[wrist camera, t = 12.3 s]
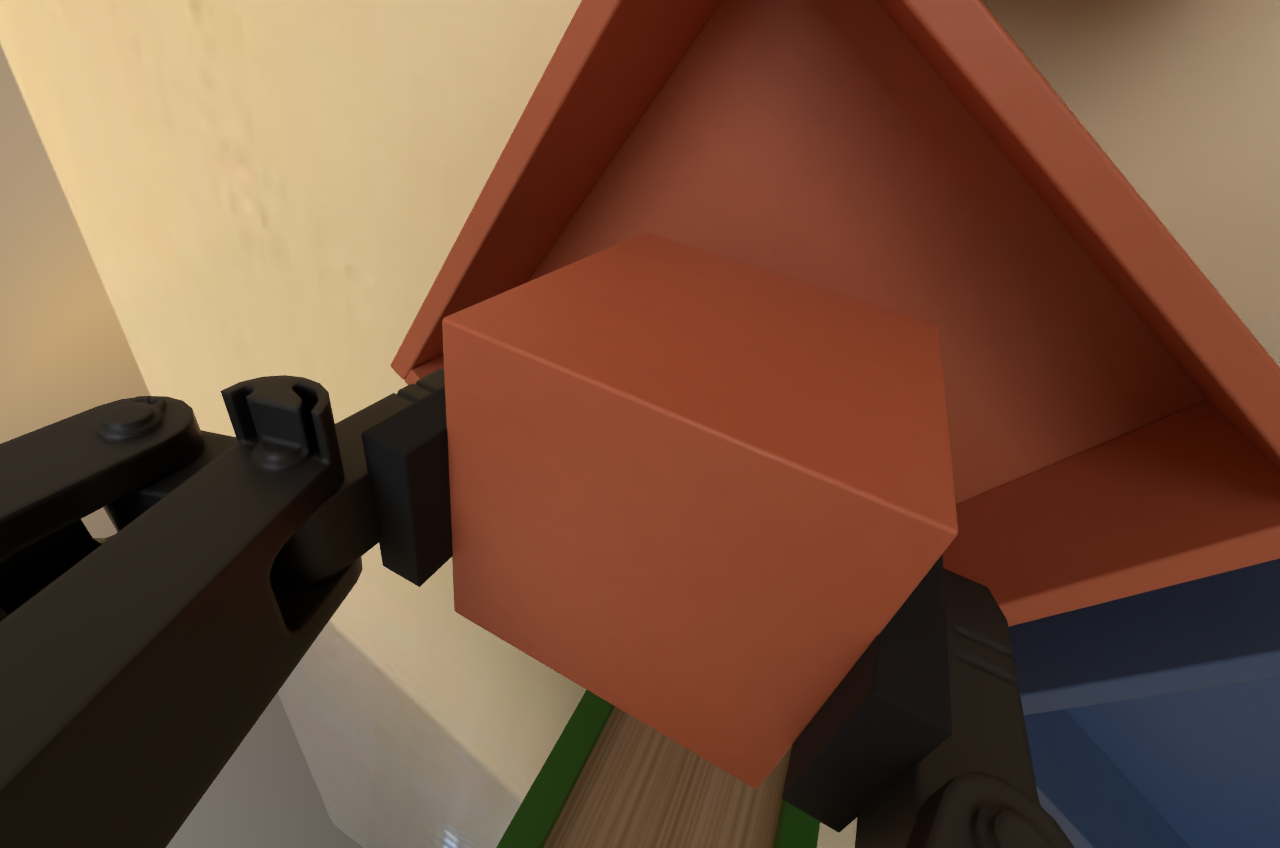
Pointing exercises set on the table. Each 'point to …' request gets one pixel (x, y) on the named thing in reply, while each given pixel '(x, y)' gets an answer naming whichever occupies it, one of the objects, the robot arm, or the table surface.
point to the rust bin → (915, 264)
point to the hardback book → (648, 794)
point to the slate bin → (1159, 714)
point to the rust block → (694, 486)
